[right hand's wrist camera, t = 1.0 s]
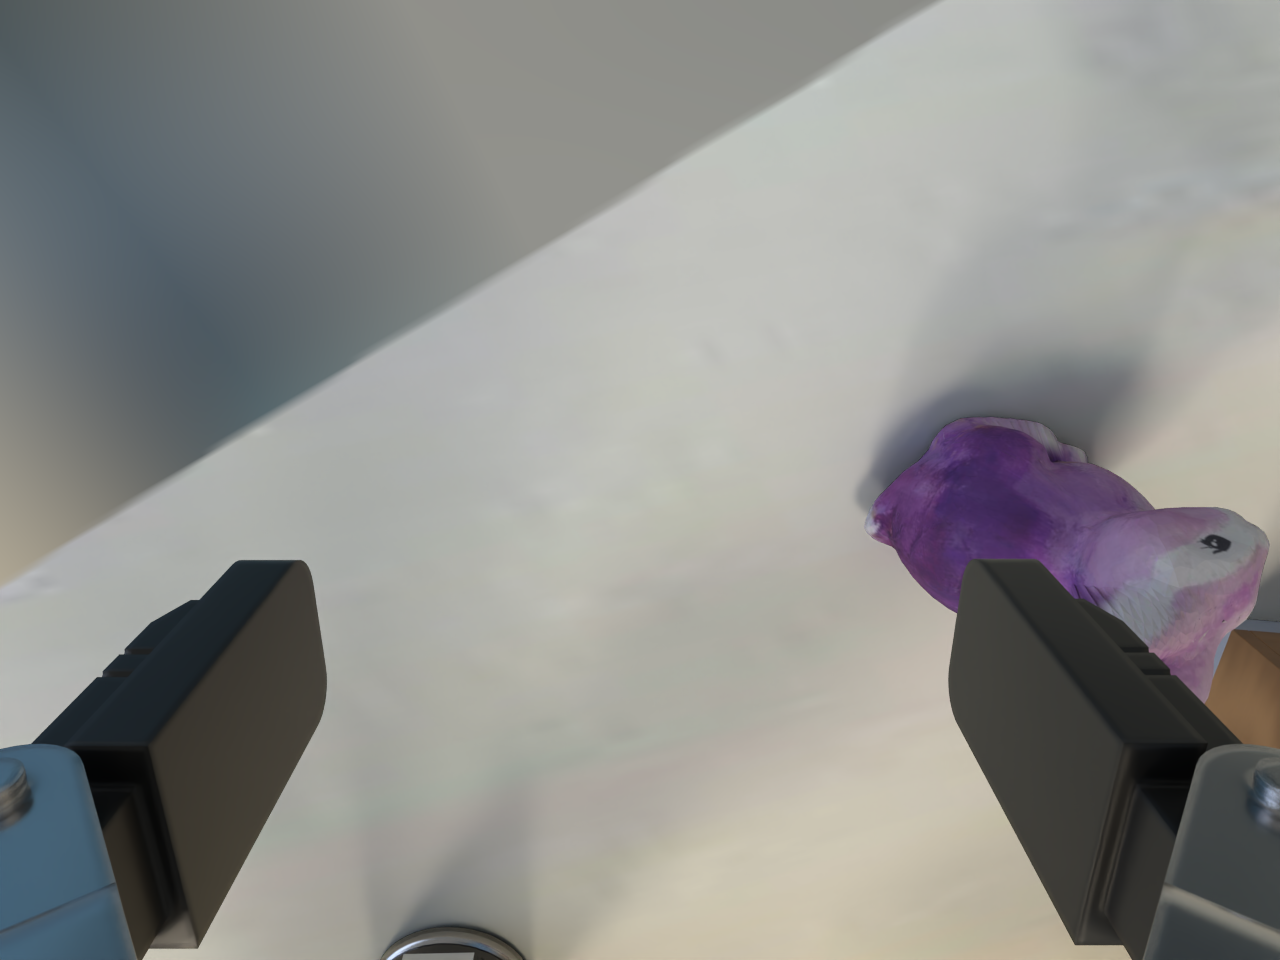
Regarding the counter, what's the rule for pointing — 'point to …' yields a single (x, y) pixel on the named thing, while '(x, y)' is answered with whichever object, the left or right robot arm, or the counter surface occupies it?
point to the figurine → (1074, 537)
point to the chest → (1249, 683)
